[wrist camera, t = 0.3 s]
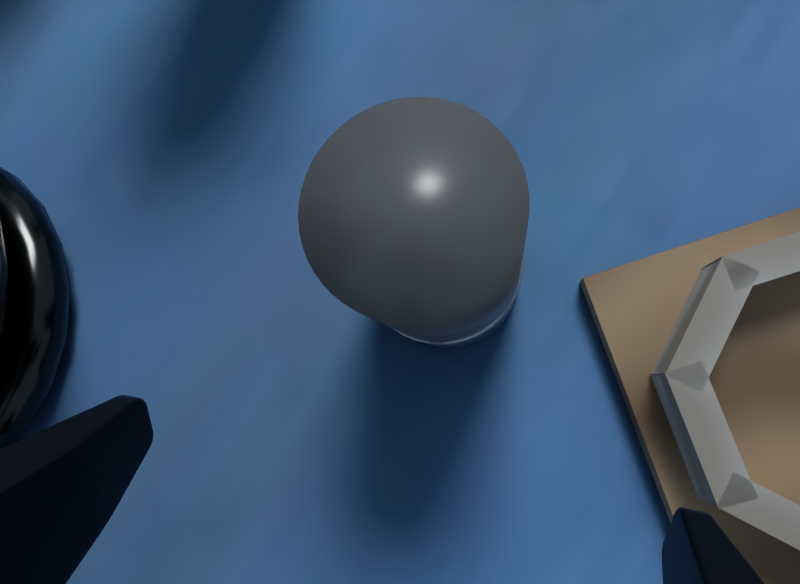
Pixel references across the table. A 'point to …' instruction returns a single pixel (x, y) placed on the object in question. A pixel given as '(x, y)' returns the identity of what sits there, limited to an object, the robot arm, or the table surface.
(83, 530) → the robot arm
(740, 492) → the walnut mount board
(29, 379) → the amphora vase
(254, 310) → the table surface
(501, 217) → the grey dome-topped cylinder
